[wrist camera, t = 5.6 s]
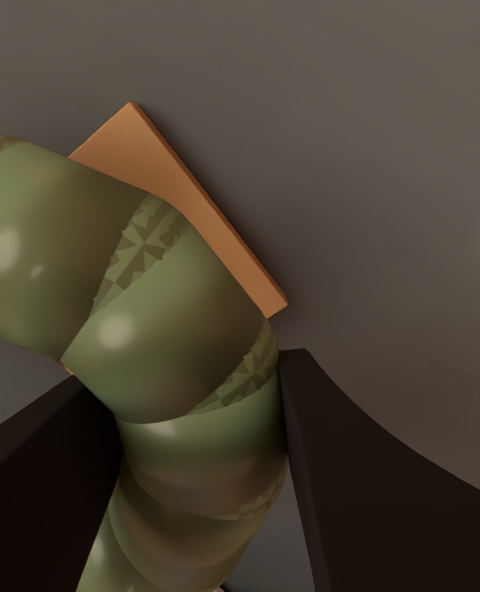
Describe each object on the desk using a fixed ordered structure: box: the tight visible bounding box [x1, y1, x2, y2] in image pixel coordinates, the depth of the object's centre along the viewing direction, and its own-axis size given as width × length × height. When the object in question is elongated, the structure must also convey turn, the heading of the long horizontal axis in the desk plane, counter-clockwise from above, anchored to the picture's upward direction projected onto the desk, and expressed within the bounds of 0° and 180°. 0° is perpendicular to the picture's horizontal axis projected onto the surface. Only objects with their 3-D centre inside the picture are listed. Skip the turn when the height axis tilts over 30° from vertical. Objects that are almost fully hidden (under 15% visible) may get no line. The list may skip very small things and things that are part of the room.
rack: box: [53, 102, 288, 375], centre depth 17 cm, size 10×10×6 cm
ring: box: [0, 135, 289, 592], centre depth 10 cm, size 12×12×4 cm
